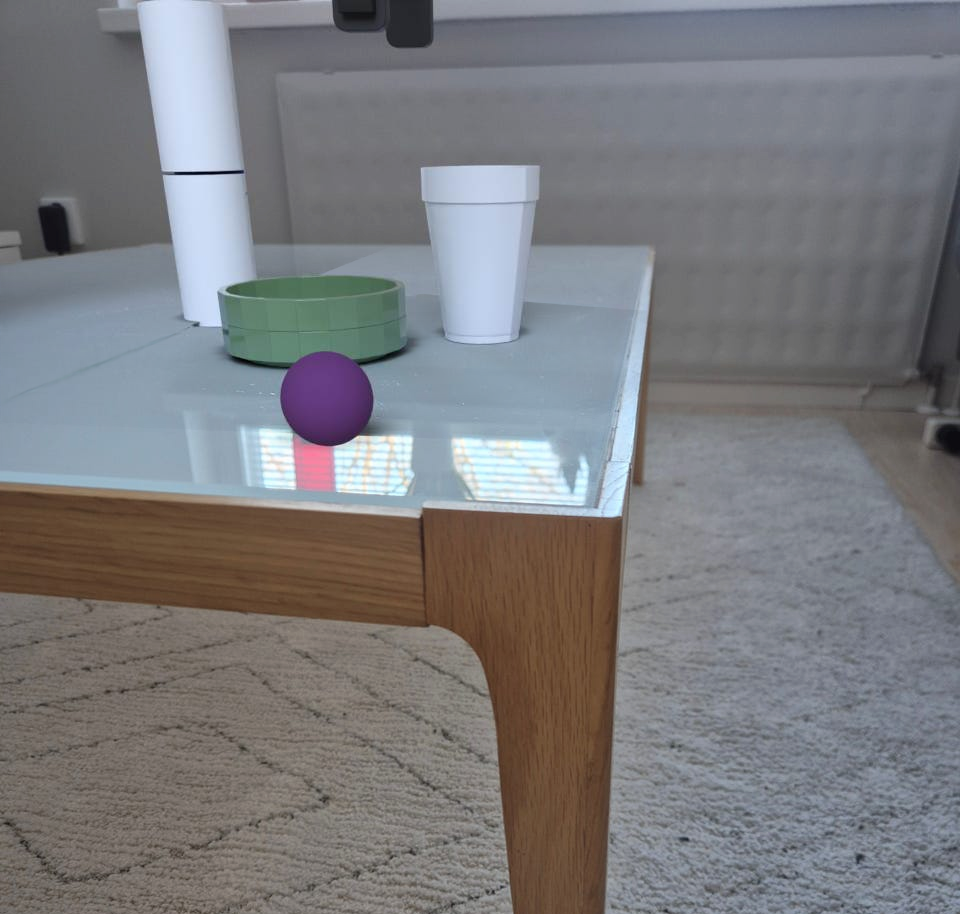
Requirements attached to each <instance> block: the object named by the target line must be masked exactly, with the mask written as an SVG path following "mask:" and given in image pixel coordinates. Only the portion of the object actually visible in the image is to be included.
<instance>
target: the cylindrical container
mask: <svg viewBox="0 0 960 914" xmlns="http://www.w3.org/2000/svg"><path fill="white" fill-rule="evenodd" d="M136 11H137V19H138V24H139V30H140V37H141V44H142V50H143V57H144V63H145V70H146V77H147V84H148V89H149V96H150V102H151V109H152V116H153V122H154V128H155V135H156V142H157V149H158V156H159V161H160V162H159V163H160V169H161V172H170V173H165V174H162V181H163V187H164V188H163V189H164V195H165V201H166V208H167V214H168V220H169V221H168V222H169V227H170V233H171V234H170V235H171V240H172V247H173V253H174V260H175V267H176V273H177V280H178V287H179V293H180V294H179V295H180V298H181V300H180V301H181V307H182V313H183V318H184V320H186V321H190V322H196V323H193V324H191V326H192V327H202V328H203V327H205V328H219V327H221V328H222V323H221V322H222V321H221V316H220V308H219V301H218V293H217V291H218V290H219V288H220V287H223V286H226V285H229V284H232V283H237V282H243V281H248V280H255V279H258V273H257V265H256V255H255V249H254V237H253V232H252V222H251V213H250V204H249V195H248V194H246V193H247V192H248V187H247V178H246V170H245V161H244V152H243V145H242V144H243V143H242V135H241V126H240V117H239V108H238V99H237V92H236V84H235V73H234V67H233V57H232V48H231V40H230V32H229V22H228V15H227V5H225V4H223V3H221V2H214V1H207V0H206V1H205V0H145V1H140V2H137V3H136ZM172 172H173V173H172Z"/></svg>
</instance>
